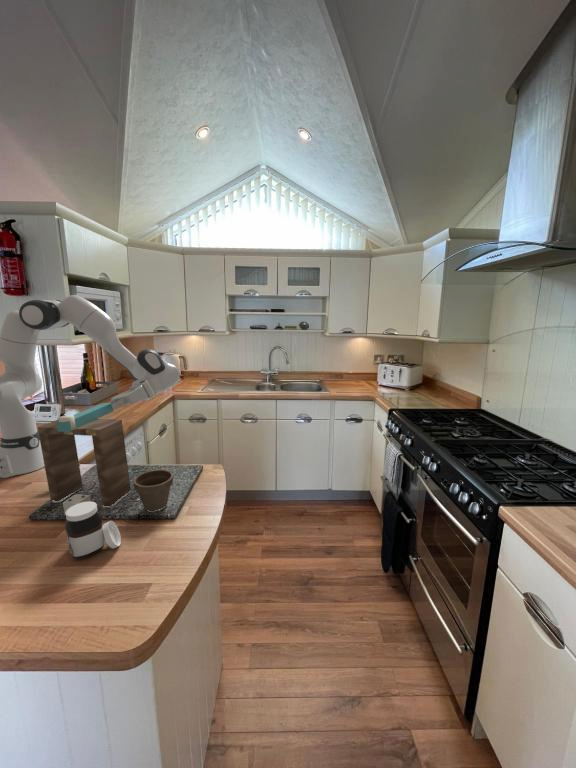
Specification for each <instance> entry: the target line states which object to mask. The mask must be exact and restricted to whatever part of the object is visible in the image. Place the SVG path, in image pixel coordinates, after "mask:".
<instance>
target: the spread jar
mask: <svg viewBox="0 0 576 768" xmlns="http://www.w3.org/2000/svg"><path fill="white" fill-rule="evenodd" d="M65 515H66V518H65V521H64V527H65V532H66V533H65V534H66V540H67V544H68V545H67V546H68V549H69V550H68V551H69V553H70V555H71V557H73V558H74V559H77V560H79V559H80V560H81V559H86V558H89V557H92V556H93V555H94V556H95V554H97V553H99V552H100V551H101V550H102V549H103V548H104V547H105V544H107V546H108V547H109V548H110V549H116V548H117V547H120V546H121V543H122V537H121V533H120V530H119V527H118V526H117V524H116V523H115V522H114V521H113V520H109V521H107V522H105V523H104V524H103V521H102V516H101V514H100V513H99V511H98V504H97V502H94V501H91V502H82V503H79V504H76V505H74V506H72V507H70V508H69V509H68V510H67V511H66V513H64V516H65Z"/></svg>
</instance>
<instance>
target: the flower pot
mask: <svg viewBox="0 0 576 768" xmlns="http://www.w3.org/2000/svg"><path fill="white" fill-rule="evenodd" d="M173 483H174V475H173V472H171V471H170V470H165V469H155V470H148V471H145V472H143V473H141V474H139V475H136V477H135V478H134V479H133V489H134V490H135V492H137V493H138V496H139V498H140V501H141V503H142V506H143V508H144V509H146V510H149V511H155V510H158V509H161V508H163V507H164V506H166V507H167V505H168V501H169V495H170V490H171V486H172V485H173ZM166 504H167V505H166ZM146 510H145V511H146Z"/></svg>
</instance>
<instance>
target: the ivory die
mask: <svg viewBox="0 0 576 768" xmlns="http://www.w3.org/2000/svg"><path fill="white" fill-rule="evenodd" d="M91 500H92V499H91V495H90V494H81V493H80V494H79V493H75V494H74V495H72V496H71V497H69V498H67V499H66V500H64V501H63V502H62V505H63V511H64V514H65V513H66V511H67V510H68V509H69V508H70V507H72V506H74V505H76V504H79V503H82V502H92V501H91Z"/></svg>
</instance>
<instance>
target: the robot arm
mask: <svg viewBox="0 0 576 768" xmlns="http://www.w3.org/2000/svg"><path fill="white" fill-rule="evenodd" d="M68 325H72V326H74V327H75V328H76V329H78V330H79V331H80V332H82V333H84V335H86V336H87V337H88V338H89V339H91V340H92V341H94V343H96V344H97V345H98V346H99V347H101V348H102V350H104V351H105V352H106V353H107V354H108V355H109V356H110V357H111V358H113V359H114V360H115V361H116V362H117V363H119V364H120V365H121V366H122V367H123V368H124V369H125V370H126V371H127V372H128V373H129V375H130V377H131V378H132V379H133V380H134V381H132V383H131V386H129V390H126V391H123V392H121V393H119V394H117V395H114V396H112V397H111V398H110V400H111V401H109V402H108V403H113V404H111V405H110V406H111V408H112V409H113V410H116V409H118V408H120V407H122V406H128V405H133V404H137V403H140V402H142V403H146V402H147V401H149V400H152V399H153V398H155V397H156V396H158V394H161V393H163V392H166V391H168V390H169V389H172V388H173V387H175V385H177V384H178V383H179V382H180V378H181V377H180V374H181V373H180V371H179V370H178V369H179V368H177V366H176V365H175V364H172V363H169V362H168V361H166V360H165V359H164V358H163V357H162V356H161V354H159V353H158V352H157V351H156V350H153V349H149V348H146V349H143V350H141V351H139V352H138V354H137V355H136V356H135V354H133V352H131V351H130V350H129V349H128V348H126V347H125V346H124V345H123V344H122V343H121V341H120V339H119V336H118V333H117V332H118V331H117V327H116V323H115V321H114V320H113V319H112V318H111V316H109V315H108V313H106V312H105V311H104V310H102V309H101V308H100V307H98V306H97V305H96V304H94V303H93V302H91V301H89V300H88V299H86V298H84V297H82V296H80V295H78V294H71V295H68V296H66V297H65V298H64V299H63V300H62V301H61V300H58V299H48V298H44V299H32V300H28V301H26V302H24V303H22V305H21V306H20V308H19V309H15V310H10V311H9V312H8V313H7V314H6V315H5V318H4V320H3V323H2V326H1V329H0V362H2V363H3V365H4V373H3V374H0V433H1V436H2V437H0V478H1V479H2V478H3V479H6V478H11V477H14V476H19V475H25V474H28V473H31V472H35V471H37V470H40V469H42V468H45V465H44V460H43V454H42V449H41V443H40V438H39V432H38V427H37V422H36V418H35V414H34V412H32V411H31V410H29V409H27V408H26V406H25V405H24V403H23V399H26V398H29V397H31V396H33V395H35V394H36V393H37V392H39V391H41V388H42V386H43V380H42V377H41V376H40V374H38V373H37V370H36V366H35V359H36V358H35V357H36V352H37V345H38V339H39V334H40V332H41V331H45V330H46V331H48V330H49V331H50V330H56V329H59V328H64V327H66V326H68Z"/></svg>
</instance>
